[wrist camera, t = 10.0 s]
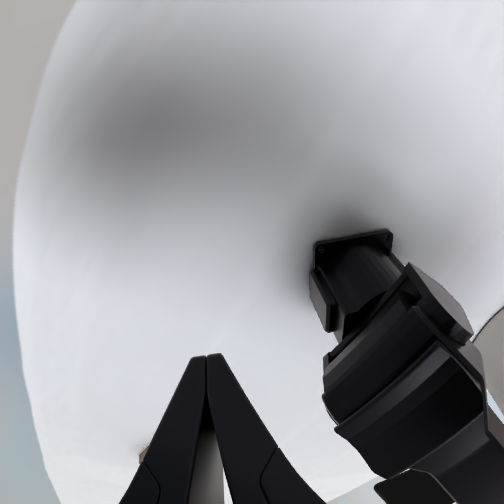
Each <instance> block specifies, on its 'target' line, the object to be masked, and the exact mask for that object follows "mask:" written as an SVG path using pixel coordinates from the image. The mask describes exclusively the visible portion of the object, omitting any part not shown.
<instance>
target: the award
mask: <svg viewBox="0 0 504 504" xmlns="http://www.w3.org/2000/svg"><path fill="white" fill-rule="evenodd" d="M374 490H375V492H376V493H377V494H378V495H379V496H380V497H381V498H382V499H383V500H384V501H385V502H386V504H452V503H454V502H455V501H454V500H453V499H452V498H451V497H450V495H449V494H448V493H447V492H446V491H445V490H444V489H443V488H442V487H441V485H440V484H439V483H438V482H437V481H436V480H435V479H434V478H433V477H432V476H431V475H430V474H429V473H427V472H422V471H417V470H413V469H410V470H408V471H405V472H403V473H401V474H399V475H396V476H395V477H393V478H391V479H387V480H385V481H382V482H379V483H377V484H376V485H375V486H374Z"/></svg>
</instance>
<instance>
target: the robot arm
mask: <svg viewBox="0 0 504 504" xmlns="http://www.w3.org/2000/svg"><path fill="white" fill-rule="evenodd" d="M386 235H388V236H387V237H386ZM385 237H386V238H385ZM392 242H393V234H392V232H391V231H390V230H388V229H385V230H380V231H374V232H369V233H363V234H358V235H352V236H347V237H341V238H336V239H330V240H324V241H319V242H317V243H315V245H314V246H313V269H312V270H311V271H310V298H311V301H312V303H313V306H314V309H315V310H316V312H317V314H318V316H319V318H320V321H321V323H322V325H323V328H324V330H325V331H326V332H328V333H330V332H334V335H335V337H336V339H337V341H338V343H339V344H338V345H337V346H336V347H335V348H334V349H333V350H332V351H331V352H328V353H327V354H326V355H325V356H324V357H323V370H324V375H323V384H324V393H323V394H322V400H323V402H324V405H325V407H326V410H327V412H328V414H329V416H330V417H331V419H332V420H333V421H334V422H335V423H336V424H337V425H338V426H336V427H335V428H334V431H335V432H336V433H337V434H339V435H340V436H341V437H343V438H344V439H346V440H347V441H348V442H349V443H350V444H351V445H352V446H353V447H355V448H356V449H357V451H358V452H359V453H360V454H361V456H362V457H363V459H364V460H365V461H366V463H367V464H368V466H369V467H370V469H371V470H372V471H373V472H374V473H375V474H377V475H379V476H381V477H383V478H385V479H391V478H393V477H395V476H396V475H398V474H400V473H402V472H403V471H405V470H407V469H413V470H417V471H422V472H427V473H429V474H430V475H431V476H432V477H433V478H434V479H435V480H436V481H437V482H438V483H439V484H440V485H441V487H442V488H443V489H444V490H445V491H446V492H447V493H448V494H449V495H450V497H451V498H452V499H453V500H454V501H455V502H456V503H457V504H504V424H503V423H502V422H501V420H500V419H499V418H498V417H497V415H496V414H495V413H494V412H493V410H492V409H491V408H490V406H489V405H488V403H487V392H486V382H485V374H484V367H483V360H482V355H481V353H480V352H479V350H478V349H477V348H476V347H475V346H474V344H473V343H472V342H471V341H470V340H469V339H470V338H471V337H472V336H473V335H474V332H473V329H472V327H471V325H470V323H469V321H468V318H467V316H466V314H465V312H464V310H463V308H462V306H461V305H460V304H459V303H458V302H457V301H456V300H455V299H454V298H453V296H452V295H451V294H450V293H449V292H448V291H447V290H446V289H445V288H444V287H443V286H442V285H440V284H439V283H438V282H436V281H435V280H434V279H432V278H431V277H430V276H428V275H427V274H426V273H424V272H423V271H421V270H420V269H419V268H417V267H416V266H414V265H413V264H412V263H410V262H409V263H408V264H407V265H406V266H405V267H404V265H403V264H402V263H401V262H400V261H399V260H398V259H397V258H396V256H395V255H394V254H393V253H392V252H391V250H392ZM320 247H323V248H322V249H321V250H318V249H319V248H320ZM223 468H224V472H225V476H226V479H227V483H228V487H229V491H230V494H231V498H232V501H233V504H326V503H325V502H324V501H323V500H322V499H321V498H320V497H319V496H318V495H317V494H316V493H315V492H314V491H313V490H312V489H311V488H310V487H309V485H308V484H307V483H306V482H305V481H304V480H303V479H302V478H301V477H300V475H299V474H298V473H297V472H296V470H295V469H294V468H293V466H292V465H291V464H290V462H289V461H288V460H287V458H286V457H285V455H284V454H283V452H282V451H281V449H280V448H278V445H277V443H276V442H275V440H274V439H273V437H272V436H271V434H270V433H269V431H268V430H267V428H266V426H265V425H264V423H263V422H262V420H261V419H260V417H259V415H258V414H257V412H256V411H255V409H254V407H253V406H252V404H251V403H250V401H249V399H248V398H247V396H246V394H245V393H244V391H243V389H242V388H241V386H240V384H239V383H238V381H237V379H236V378H235V376H234V374H233V372H232V371H231V369H230V367H229V366H228V364H227V362H226V360H225V359H224V357H223V355H222V354H221V353H216V354H210V355H208V356H207V357H206V356H204V355H203V356H196V357H192V358H191V359H190V361H189V363H188V365H187V368H186V370H185V372H184V374H183V376H182V378H181V380H180V382H179V384H178V386H177V388H176V390H175V392H174V395H173V397H172V399H171V401H170V403H169V405H168V407H167V409H166V411H165V413H164V415H163V417H162V420H161V422H160V424H159V426H158V428H157V430H156V432H155V434H154V436H153V438H152V441H151V443H150V445H149V447H148V449H147V451H146V453H145V455H144V457H143V461H142V462H141V463H140V466H139V468H138V470H137V472H136V474H135V476H134V478H133V480H132V482H131V484H130V486H129V488H128V489H127V491H126V493H125V494H124V496H123V497H122V499H121V501H120V502H119V504H224V485H223Z"/></svg>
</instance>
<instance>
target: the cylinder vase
mask: <svg viewBox="0 0 504 504" xmlns="http://www.w3.org/2000/svg"><path fill="white" fill-rule="evenodd" d="M473 344H474V346H475V347H476V348H477V349H478V350H479V352H480V353H481V355H482V360H483V367H484V374H485V382H486V388H487V390H488V391H489V393H490V394H491V396H492V397H493V399H494V401H495V402H496V404H497V405H498V407H499V409H500V410H501V412H502V414H503V415H504V309H502V310H501V311H500V312H499V313H498V314H496V315H495V316H494V317H493V318H492V319H491V320H490V321H489V322H488V324H487V325H486V326H485V327H484V328H483V329H482V331H481V332H480V333H479V335H478V336H477V338H476V339H475V341H474V343H473Z"/></svg>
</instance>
